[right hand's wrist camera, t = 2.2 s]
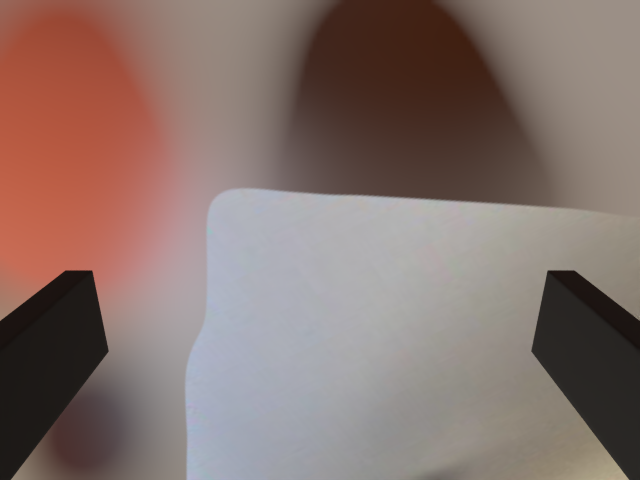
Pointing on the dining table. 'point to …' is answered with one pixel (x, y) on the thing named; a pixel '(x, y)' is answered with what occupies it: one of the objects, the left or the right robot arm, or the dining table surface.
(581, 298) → the right robot arm
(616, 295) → the dining table surface
